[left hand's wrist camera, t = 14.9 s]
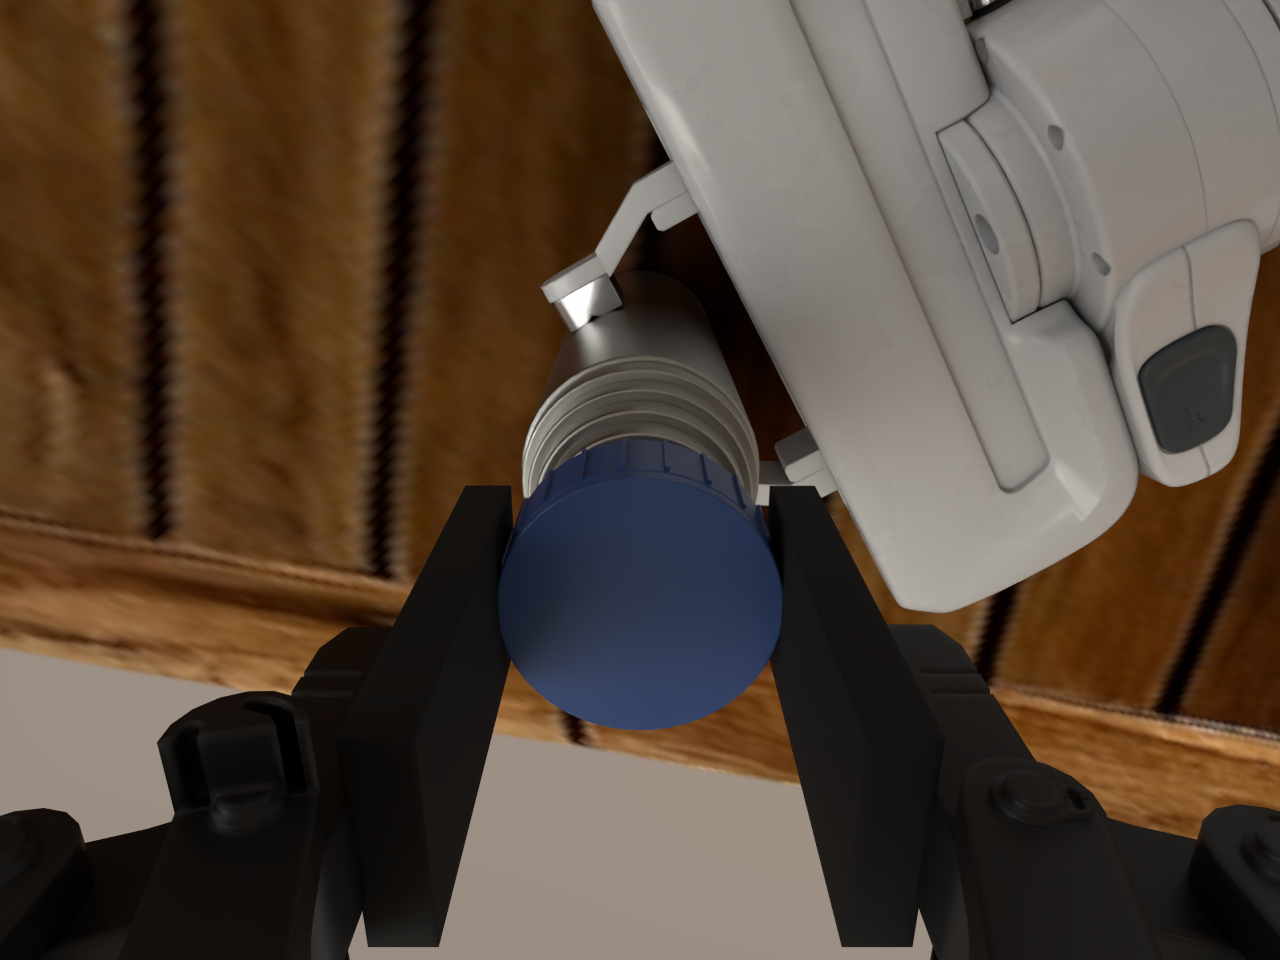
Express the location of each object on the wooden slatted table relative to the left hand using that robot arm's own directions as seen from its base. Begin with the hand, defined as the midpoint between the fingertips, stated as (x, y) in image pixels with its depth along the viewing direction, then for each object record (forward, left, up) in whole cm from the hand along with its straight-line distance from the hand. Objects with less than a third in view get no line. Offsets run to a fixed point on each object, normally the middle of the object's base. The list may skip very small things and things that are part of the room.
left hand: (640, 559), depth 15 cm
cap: (0, 0, +1) cm, 1 cm away
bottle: (0, 0, -18) cm, 18 cm away
